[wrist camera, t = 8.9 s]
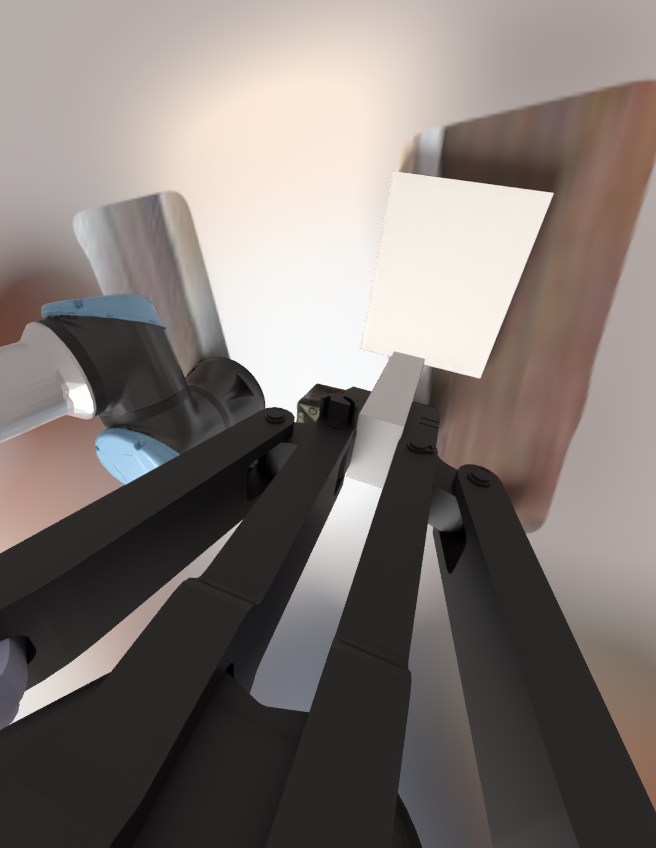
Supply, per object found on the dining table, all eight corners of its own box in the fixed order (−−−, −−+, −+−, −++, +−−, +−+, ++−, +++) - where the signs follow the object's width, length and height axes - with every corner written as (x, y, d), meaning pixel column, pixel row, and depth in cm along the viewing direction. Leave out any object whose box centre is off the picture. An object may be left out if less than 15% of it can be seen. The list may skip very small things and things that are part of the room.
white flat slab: (365, 342, 51) (360, 348, 49) (397, 173, 40) (393, 171, 38) (479, 370, 48) (480, 378, 46) (548, 194, 37) (553, 193, 35)
